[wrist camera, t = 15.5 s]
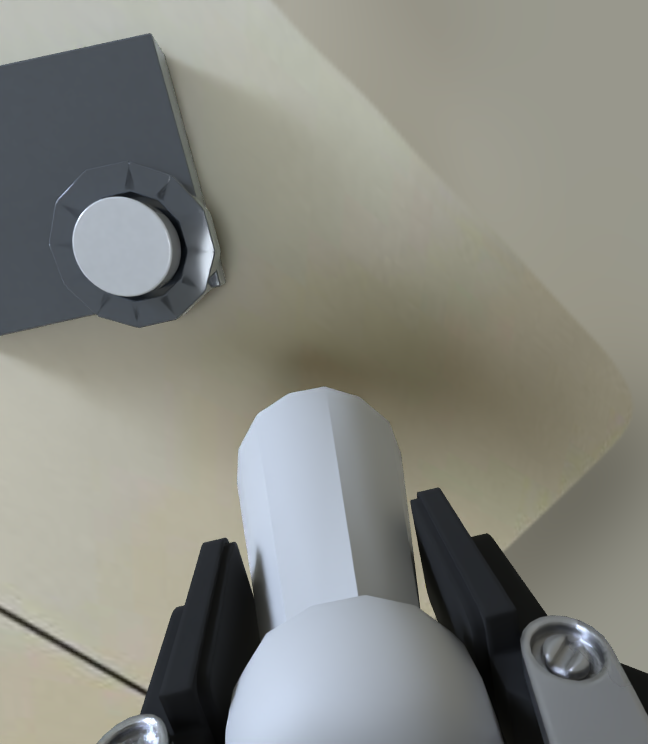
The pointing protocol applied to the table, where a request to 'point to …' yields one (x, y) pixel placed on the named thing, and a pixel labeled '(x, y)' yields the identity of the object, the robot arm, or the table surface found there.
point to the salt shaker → (342, 591)
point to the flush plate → (94, 181)
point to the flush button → (126, 246)
